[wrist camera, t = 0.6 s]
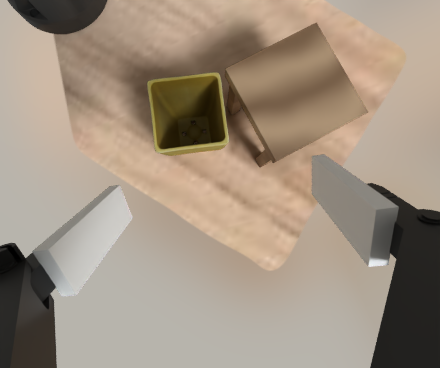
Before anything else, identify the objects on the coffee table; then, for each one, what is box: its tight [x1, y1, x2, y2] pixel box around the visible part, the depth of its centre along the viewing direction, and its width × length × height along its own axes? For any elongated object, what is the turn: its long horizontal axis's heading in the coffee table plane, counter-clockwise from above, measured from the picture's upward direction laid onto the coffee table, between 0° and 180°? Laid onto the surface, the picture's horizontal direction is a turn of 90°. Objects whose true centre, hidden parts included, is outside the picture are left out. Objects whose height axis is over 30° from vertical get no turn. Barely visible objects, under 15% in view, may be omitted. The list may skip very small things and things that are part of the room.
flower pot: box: [147, 72, 229, 156], centre depth 30 cm, size 9×9×9 cm
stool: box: [225, 23, 368, 167], centre depth 30 cm, size 12×12×10 cm
